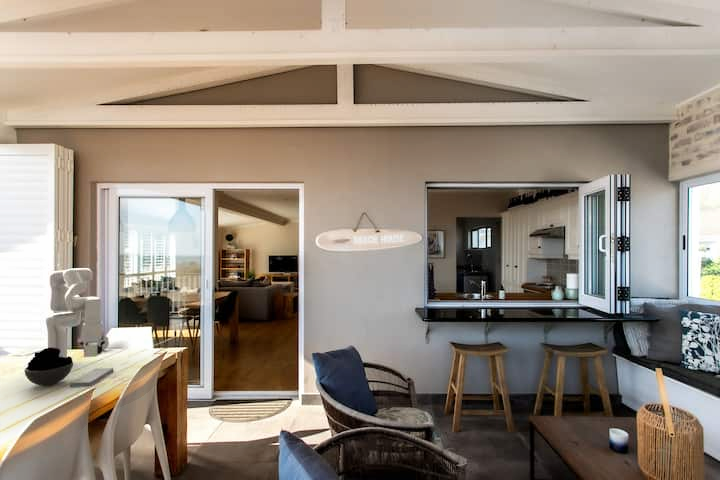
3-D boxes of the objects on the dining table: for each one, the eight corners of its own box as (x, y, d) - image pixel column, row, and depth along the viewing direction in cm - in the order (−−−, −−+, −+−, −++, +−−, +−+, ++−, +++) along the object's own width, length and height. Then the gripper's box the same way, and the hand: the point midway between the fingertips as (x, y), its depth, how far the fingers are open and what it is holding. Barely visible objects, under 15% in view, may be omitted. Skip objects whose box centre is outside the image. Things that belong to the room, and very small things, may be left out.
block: (84, 357, 209) (84, 346, 209) (90, 354, 215) (90, 343, 215) (95, 356, 209) (96, 345, 210) (101, 353, 215) (101, 342, 216)
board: (69, 387, 199) (69, 383, 199) (94, 372, 223) (94, 368, 223) (90, 385, 201) (90, 382, 201) (113, 371, 224) (113, 367, 224)
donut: (109, 349, 274) (109, 335, 275) (108, 350, 271) (108, 336, 271) (92, 351, 270) (92, 336, 270) (91, 352, 267) (91, 337, 267)
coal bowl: (67, 375, 217) (67, 342, 218) (78, 383, 205) (78, 347, 205) (20, 385, 202) (20, 349, 202) (29, 394, 189) (29, 356, 190)
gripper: (71, 322, 208) (71, 356, 207) (106, 321, 210) (106, 354, 209) (80, 320, 215) (79, 352, 215) (113, 318, 217) (113, 351, 217)
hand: (93, 353), depth 212 cm, fingers closed on block, 6 cm apart
